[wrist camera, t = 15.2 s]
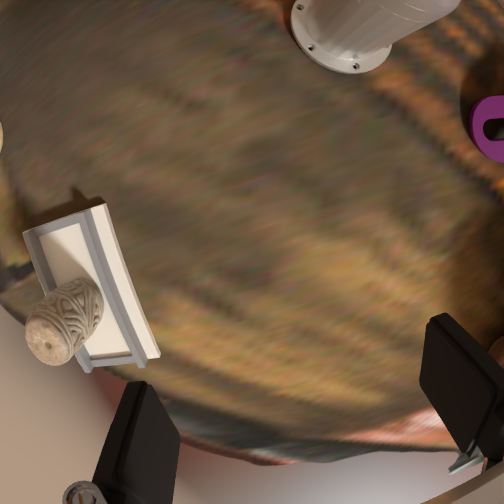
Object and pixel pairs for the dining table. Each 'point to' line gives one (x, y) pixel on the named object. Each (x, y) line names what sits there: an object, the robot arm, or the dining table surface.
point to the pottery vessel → (498, 351)
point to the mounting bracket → (479, 114)
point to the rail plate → (103, 276)
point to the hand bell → (1, 136)
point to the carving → (64, 321)
